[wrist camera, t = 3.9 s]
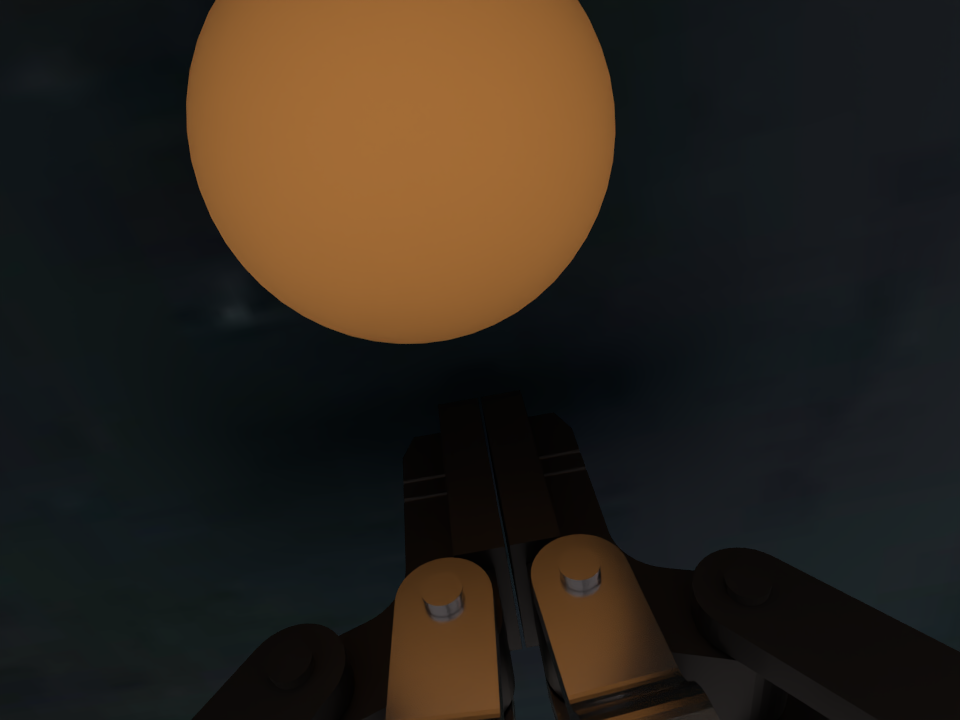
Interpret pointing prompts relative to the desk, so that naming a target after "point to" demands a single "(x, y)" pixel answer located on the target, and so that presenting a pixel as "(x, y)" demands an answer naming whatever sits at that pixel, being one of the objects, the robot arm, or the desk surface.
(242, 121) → the ball
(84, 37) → the desk surface
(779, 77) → the desk surface
